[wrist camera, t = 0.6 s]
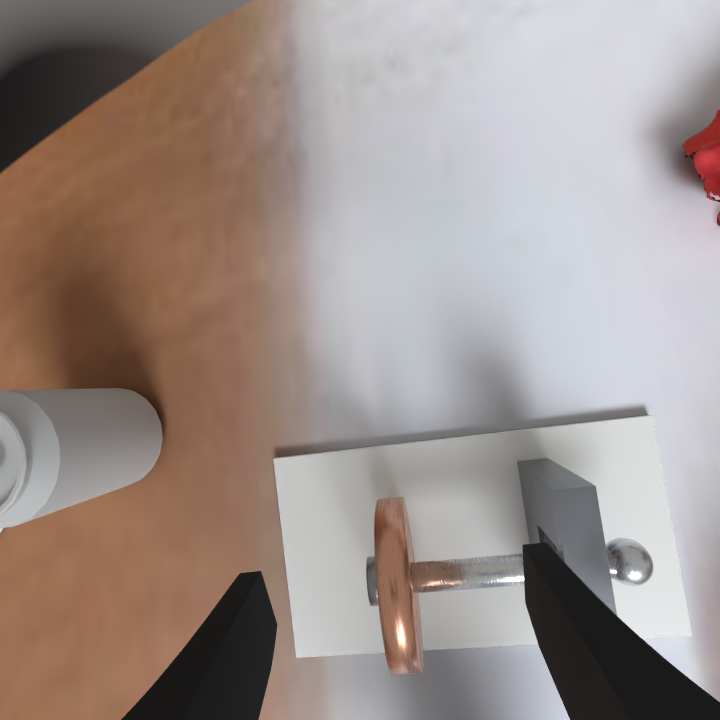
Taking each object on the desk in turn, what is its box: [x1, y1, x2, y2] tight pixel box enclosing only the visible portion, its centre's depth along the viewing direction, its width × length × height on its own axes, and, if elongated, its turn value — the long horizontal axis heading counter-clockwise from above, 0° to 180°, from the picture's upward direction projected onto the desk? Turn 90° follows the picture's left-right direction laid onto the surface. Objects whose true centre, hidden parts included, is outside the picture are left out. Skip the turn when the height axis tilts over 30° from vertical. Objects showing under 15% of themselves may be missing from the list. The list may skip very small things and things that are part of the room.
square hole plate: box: [517, 458, 617, 615], centre depth 25 cm, size 10×2×8 cm, turn 8°
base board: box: [273, 415, 692, 658], centre depth 30 cm, size 14×26×1 cm, turn 98°
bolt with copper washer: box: [366, 497, 653, 675], centre depth 24 cm, size 9×16×9 cm, turn 98°
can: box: [0, 388, 163, 528], centre depth 28 cm, size 8×8×12 cm
